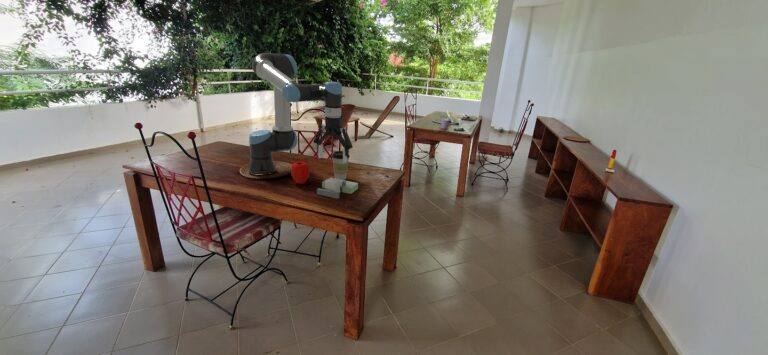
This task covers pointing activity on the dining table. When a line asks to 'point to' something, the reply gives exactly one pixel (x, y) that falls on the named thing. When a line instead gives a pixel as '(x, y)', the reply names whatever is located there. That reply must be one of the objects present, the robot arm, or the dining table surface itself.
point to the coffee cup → (340, 165)
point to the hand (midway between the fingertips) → (332, 159)
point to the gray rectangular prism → (332, 185)
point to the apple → (300, 172)
